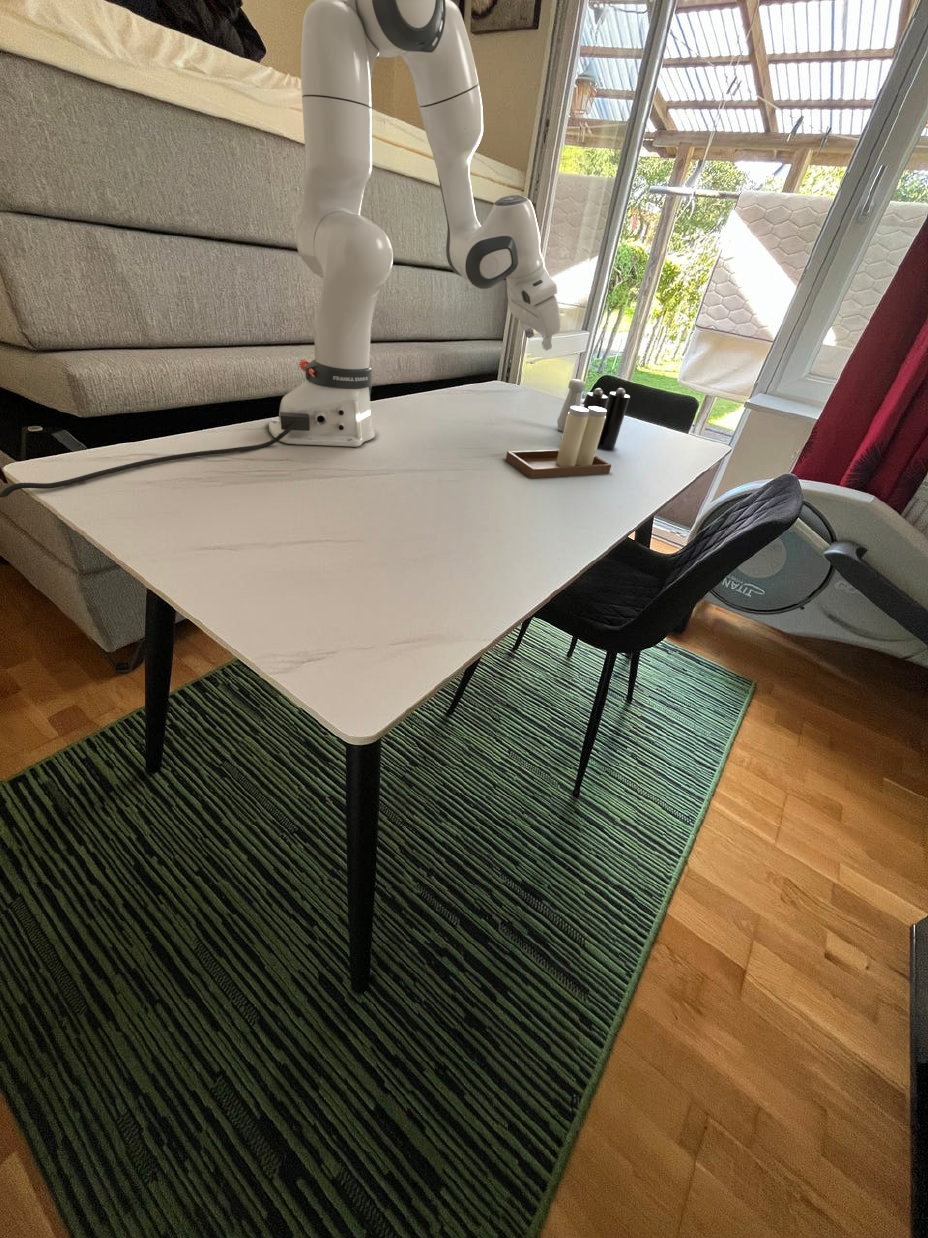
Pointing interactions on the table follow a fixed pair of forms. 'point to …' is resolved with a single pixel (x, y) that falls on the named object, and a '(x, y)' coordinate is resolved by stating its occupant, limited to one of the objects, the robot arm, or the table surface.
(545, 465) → the walnut tray
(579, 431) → the cream shaker
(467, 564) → the table surface
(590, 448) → the cream shaker
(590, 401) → the pepper mill
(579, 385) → the salt shaker
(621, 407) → the pepper mill
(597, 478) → the table surface
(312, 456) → the table surface
